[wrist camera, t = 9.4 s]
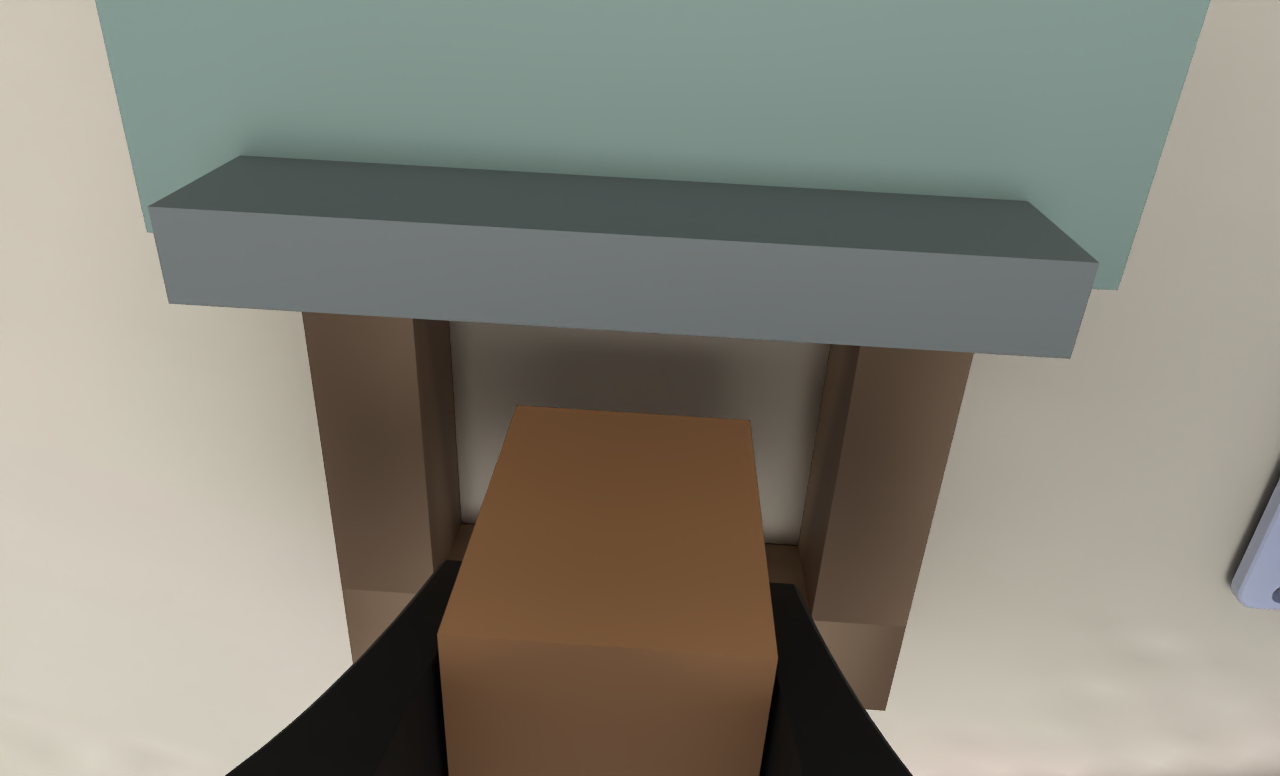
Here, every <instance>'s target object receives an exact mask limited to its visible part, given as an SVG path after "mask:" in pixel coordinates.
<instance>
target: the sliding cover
mask: <svg viewBox="0 0 1280 776" xmlns="http://www.w3.org/2000/svg"><path fill="white" fill-rule="evenodd" d="M95 2H96V7H97V11H98V16H99V20H100V25H101V29H102V34H103V38H104V43H105V47H106V51H107V56H108V60H109V65H110V69H111V74H112V78H113V83H114V87H115V92H116V96H117V101H118V105H119V109H120V114H121V118H122V123H123V127H124V132H125V136H126V141H127V145H128V150H129V154H130V158H131V163H132V167H133V172H134V176H135V181H136V185H137V190H138V194H139V199H140V203H141V207H142V212H143V216H144V221H145V225H146V230H147V232H150V233H154V238H155V242H156V247H157V251H158V256H159V260H160V265H161V270H162V274H163V279H164V283H165V288H166V292H167V297H168V301H169V304H185V305H202V306H218V307H234V308H251V309H267V310H283V311H300V312H316V313H332V314H349V315H365V316H381V317H398V318H414V319H430V320H447V321H463V322H479V323H496V324H512V325H528V326H545V327H561V328H577V329H594V330H610V331H626V332H643V333H659V334H675V335H691V336H708V337H724V338H740V339H757V340H773V341H789V342H806V343H822V344H838V345H855V346H871V347H887V348H904V349H920V350H936V351H953V352H969V353H985V354H1002V355H1018V356H1034V357H1051V358H1067V359H1070V358H1071V355H1072V351H1073V348H1074V345H1075V341H1076V338H1077V335H1078V332H1079V328H1080V325H1081V322H1082V319H1083V315H1084V312H1085V309H1086V305H1087V302H1088V299H1089V296H1090V292H1091V289H1105V290H1118V287H1119V284H1120V281H1121V278H1122V275H1123V271H1124V268H1125V265H1126V262H1127V259H1128V256H1129V253H1130V250H1131V246H1132V243H1133V240H1134V237H1135V234H1136V231H1137V228H1138V225H1139V222H1140V218H1141V215H1142V212H1143V209H1144V206H1145V203H1146V200H1147V197H1148V194H1149V190H1150V187H1151V184H1152V181H1153V178H1154V175H1155V172H1156V169H1157V165H1158V162H1159V159H1160V156H1161V153H1162V150H1163V147H1164V144H1165V141H1166V137H1167V134H1168V131H1169V128H1170V125H1171V122H1172V119H1173V116H1174V112H1175V109H1176V106H1177V103H1178V100H1179V97H1180V94H1181V91H1182V88H1183V84H1184V81H1185V78H1186V75H1187V72H1188V69H1189V66H1190V63H1191V60H1192V56H1193V53H1194V50H1195V47H1196V44H1197V41H1198V38H1199V35H1200V31H1201V28H1202V25H1203V22H1204V19H1205V16H1206V13H1207V10H1208V7H1209V3H1210V0H95Z"/></svg>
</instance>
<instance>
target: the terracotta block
mask: <svg viewBox="0 0 1280 776" xmlns="http://www.w3.org/2000/svg"><path fill="white" fill-rule="evenodd" d="M437 639H438V651H439V664H440V676H441V688H442V700H443V712H444V724H445V736H446V748H447V760H448V772H449V776H759V773H760V767H761V761H762V754H763V748H764V742H765V736H766V730H767V723H768V717H769V711H770V705H771V699H772V692H773V686H774V680H775V674H776V668H777V661H778V654H777V645H776V637H775V628H774V620H773V611H772V603H771V594H770V586H769V577H768V569H767V560H766V552H765V543H764V535H763V526H762V518H761V509H760V501H759V492H758V484H757V475H756V467H755V458H754V450H753V441H752V433H751V424H750V420H740V419H725V418H709V417H694V416H678V415H662V414H647V413H631V412H615V411H600V410H584V409H569V408H553V407H537V406H522V405H517V406H516V409H515V411H514V414H513V417H512V420H511V423H510V426H509V429H508V432H507V434H506V437H505V440H504V443H503V446H502V449H501V452H500V455H499V458H498V460H497V463H496V466H495V469H494V472H493V475H492V478H491V481H490V483H489V486H488V489H487V492H486V495H485V498H484V501H483V504H482V506H481V509H480V512H479V515H478V518H477V521H476V524H475V527H474V530H473V532H472V535H471V538H470V541H469V544H468V547H467V550H466V553H465V555H464V558H463V561H462V564H461V567H460V570H459V573H458V576H457V579H456V581H455V584H454V587H453V590H452V593H451V596H450V599H449V602H448V604H447V607H446V610H445V613H444V616H443V619H442V622H441V625H440V627H439V630H438V633H437Z"/></svg>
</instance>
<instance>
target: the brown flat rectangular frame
mask: <svg viewBox="0 0 1280 776" xmlns="http://www.w3.org/2000/svg"><path fill="white" fill-rule="evenodd" d="M302 316H303V323H304V330H305V337H306V344H307V351H308V357H309V364H310V371H311V378H312V385H313V392H314V399H315V406H316V412H317V419H318V426H319V433H320V440H321V447H322V454H323V461H324V468H325V474H326V481H327V488H328V495H329V502H330V509H331V516H332V523H333V529H334V536H335V543H336V550H337V557H338V564H339V571H340V578H341V584H342V591H343V598H344V605H345V612H346V619H347V626H348V633H349V639H350V646H351V653H352V660H353V664H354V663H355V662H356V661H357V660H358V659H359V658H360V657H361V656H362V655H363V654H364V653H365V651H366V650H367V649H368V648H369V647H370V646H371V645H372V644H373V643H374V642H375V640H376V639H377V638H378V637H379V636H380V635H381V634H382V633H383V632H384V631H385V630H386V628H387V627H388V626H389V625H390V624H391V623H392V622H393V621H394V620H395V618H396V617H397V616H398V615H399V614H400V613H401V611H402V610H403V609H404V608H405V607H406V606H407V604H408V603H409V602H410V601H411V600H412V598H413V597H414V596H415V595H416V594H417V592H418V591H419V590H420V589H421V588H422V586H423V585H424V584H425V583H426V581H427V580H428V579H429V578H430V576H431V575H432V574H433V572H434V571H435V570H436V569H437V567H438V566H439V565H440V564H441V563H443V562H444V561H445V560H455V561H463V558H464V555H465V553H466V550H467V547H468V544H469V541H470V538H471V535H472V532H473V530H474V527H475V525H469V524H461V512H460V496H459V479H458V463H457V447H456V430H455V414H454V397H453V381H452V364H451V348H450V332H449V321H447V320H430V319H414V318H398V317H381V316H365V315H349V314H332V313H316V312H302ZM973 354H974V353H969V352H953V351H936V350H920V349H904V348H887V347H871V346H855V345H838V344H831V347H830V353H829V359H828V366H827V372H826V378H825V384H824V390H823V396H822V402H821V409H820V415H819V421H818V427H817V433H816V439H815V445H814V452H813V458H812V464H811V470H810V476H809V482H808V488H807V495H806V501H805V507H804V513H803V519H802V525H801V531H800V538H799V544H798V546H789V545H773V544H765V552H766V560H767V569H768V577H769V582H771V583H786V584H794V585H795V586H796V587H797V588H798V589H799V591H800V593H801V595H802V597H803V599H804V602H805V604H806V606H807V608H808V610H809V612H810V614H811V616H812V618H813V621H814V622H815V624H816V626H817V628H818V630H819V632H820V634H821V636H822V638H823V640H824V641H825V643H826V645H827V647H828V649H829V651H830V653H831V654H832V656H833V658H834V660H835V661H836V663H837V665H838V667H839V668H840V670H841V671H842V673H843V675H844V676H845V678H846V680H847V681H848V683H849V685H850V686H851V688H852V689H853V691H854V693H855V694H856V696H857V698H858V699H859V701H860V702H861V704H862V705H863V707H864V708H865V709H868V710H883V711H885V709H886V705H887V701H888V697H889V693H890V689H891V685H892V681H893V677H894V673H895V669H896V665H897V661H898V657H899V653H900V648H901V644H902V640H903V636H904V632H905V628H906V624H907V620H908V616H909V612H910V608H911V604H912V600H913V596H914V592H915V588H916V584H917V580H918V576H919V572H920V568H921V564H922V560H923V556H924V552H925V548H926V544H927V540H928V536H929V532H930V528H931V523H932V519H933V515H934V511H935V507H936V503H937V499H938V495H939V491H940V487H941V483H942V479H943V475H944V471H945V467H946V463H947V459H948V455H949V451H950V447H951V443H952V439H953V435H954V431H955V427H956V423H957V419H958V415H959V411H960V407H961V402H962V398H963V394H964V390H965V386H966V382H967V378H968V374H969V370H970V366H971V362H972V358H973Z"/></svg>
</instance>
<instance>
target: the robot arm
mask: <svg viewBox="0 0 1280 776" xmlns="http://www.w3.org/2000/svg"><path fill="white" fill-rule="evenodd" d="M461 564H462V561H455V560H445V561H444V562H443V563H441V564H440V565H439V566H438V567H437V569H436V570H435V571H434V572H433V574H432V575H431V576H430V578H429V579H428V580H427V581H426V583H425V584H424V585H423V586H422V588H421V589H420V590H419V591H418V592H417V594H416V595H415V596H414V597H413V598H412V600H411V601H410V602H409V603H408V604H407V606H406V607H405V608H404V609H403V610H402V611H401V613H400V614H399V615H398V616H397V617H396V618H395V620H394V621H393V622H392V623H391V624H390V625H389V626H388V627H387V628H386V630H385V631H384V632H383V633H382V634H381V635H380V636H379V637H378V638H377V639H376V640H375V642H374V643H373V644H372V645H371V646H370V647H369V648H368V649H367V650H366V651H365V653H364V654H363V655H362V656H361V657H360V658H359V659H358V660H357V661H356V662H355V663H354V664H353V665H352V666H351V667H350V668H349V669H348V670H347V671H346V672H345V673H344V674H343V675H342V676H341V677H340V678H339V679H338V680H337V681H336V682H335V683H334V684H333V685H332V686H331V687H330V688H329V689H328V690H327V691H326V692H325V693H323V694H322V695H321V696H320V697H319V698H318V699H317V700H316V701H315V702H314V703H313V704H312V705H311V706H310V707H308V708H307V709H306V710H305V711H304V712H303V713H302V714H301V715H300V716H298V717H297V718H296V719H295V720H294V721H293V722H292V723H291V724H289V725H288V726H287V727H286V728H285V729H283V730H282V731H281V732H280V733H279V734H277V735H276V736H275V737H274V738H273V739H272V740H270V741H269V742H268V743H267V744H265V745H264V746H263V747H262V748H261V749H259V750H258V751H257V752H255V753H254V754H253V755H251V756H250V757H249V758H248V759H246V760H245V761H244V762H242V763H241V764H240V765H238V766H237V767H236V768H234V769H233V770H232V771H231V772H229V773H228V774H227V775H225V776H449V772H448V760H447V748H446V736H445V724H444V712H443V700H442V688H441V676H440V664H439V651H438V639H437V633H438V630H439V627H440V625H441V622H442V619H443V616H444V613H445V610H446V607H447V604H448V602H449V599H450V596H451V593H452V590H453V587H454V584H455V581H456V579H457V576H458V573H459V570H460V567H461ZM769 586H770V594H771V603H772V611H773V620H774V628H775V637H776V645H777V654H778V661H777V668H776V674H775V680H774V686H773V692H772V699H771V705H770V711H769V717H768V723H767V730H766V736H765V742H764V748H763V754H762V761H761V767H760V773H759V776H913V775H912V774H911V773H910V772H909V770H908V769H907V768H906V766H905V765H904V764H903V762H902V761H901V760H900V758H899V757H898V756H897V754H896V753H895V752H894V750H893V749H892V748H891V746H890V745H889V743H888V742H887V741H886V739H885V738H884V736H883V735H882V733H881V732H880V731H879V729H878V728H877V726H876V725H875V723H874V722H873V720H872V719H871V718H870V716H869V715H868V713H867V711H866V710H865V708H864V707H863V705H862V704H861V702H860V701H859V699H858V698H857V696H856V694H855V693H854V691H853V689H852V688H851V686H850V685H849V683H848V681H847V680H846V678H845V676H844V675H843V673H842V671H841V670H840V668H839V667H838V665H837V663H836V661H835V660H834V658H833V656H832V654H831V653H830V651H829V649H828V647H827V645H826V643H825V641H824V640H823V638H822V636H821V634H820V632H819V630H818V628H817V626H816V624H815V622H814V621H813V618H812V616H811V614H810V612H809V610H808V608H807V606H806V604H805V602H804V599H803V597H802V595H801V593H800V591H799V589H798V588H797V587H796V586H795V585H794V584H786V583H771V582H769ZM1278 588H1280V479H1279V481H1278V483H1277V485H1276V487H1275V490H1274V492H1273V494H1272V496H1271V498H1270V500H1269V503H1268V505H1267V507H1266V509H1265V511H1264V513H1263V516H1262V518H1261V520H1260V522H1259V524H1258V526H1257V528H1256V531H1255V533H1254V535H1253V537H1252V539H1251V541H1250V544H1249V546H1248V548H1247V550H1246V552H1245V554H1244V557H1243V559H1242V561H1241V563H1240V565H1239V567H1238V570H1237V572H1236V574H1235V576H1234V578H1233V580H1232V584H1231V590H1232V592H1233V594H1234V596H1235V597H1236V598H1237V599H1238V601H1239V602H1240V603H1241V604H1243V605H1244V606H1246V607H1250V608H1258V609H1273V610H1280V589H1279V590H1277V591H1275V590H1276V589H1278Z"/></svg>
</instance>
